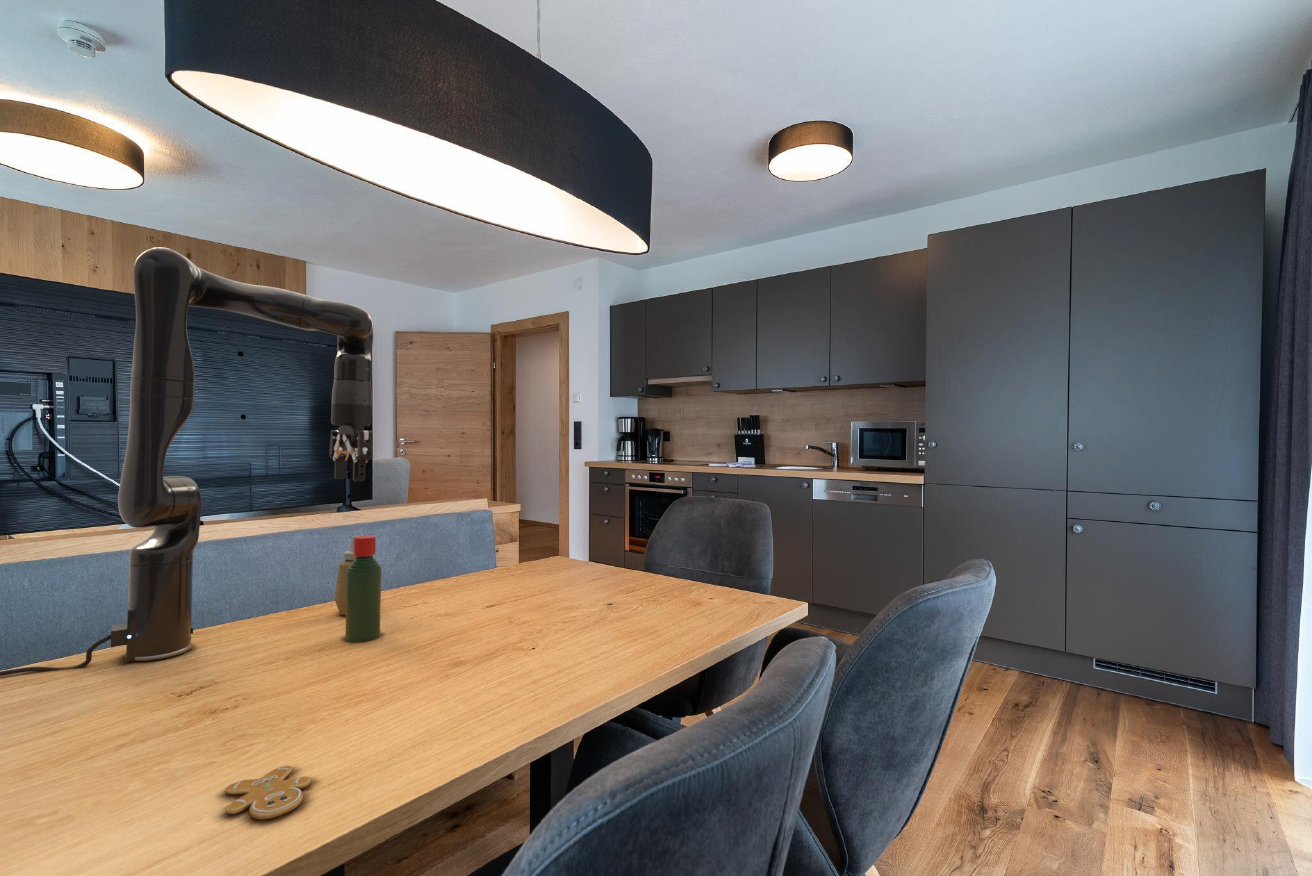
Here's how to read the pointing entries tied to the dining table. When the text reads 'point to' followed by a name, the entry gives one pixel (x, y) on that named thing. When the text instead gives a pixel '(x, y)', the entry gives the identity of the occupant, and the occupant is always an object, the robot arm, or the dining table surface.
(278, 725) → the dining table surface
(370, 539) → the cap
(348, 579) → the sauce bottle
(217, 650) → the dining table surface
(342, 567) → the squeeze bottle
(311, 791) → the dining table surface
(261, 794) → the cookie
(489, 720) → the dining table surface
